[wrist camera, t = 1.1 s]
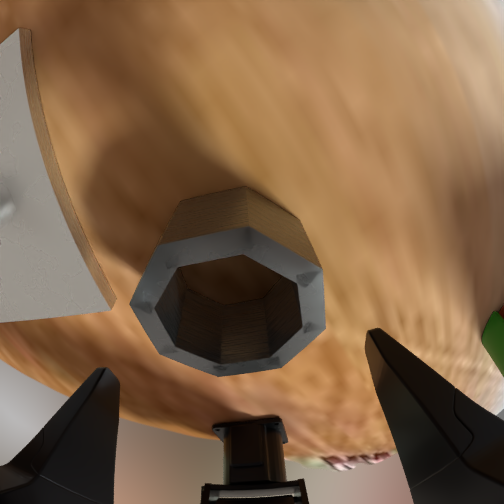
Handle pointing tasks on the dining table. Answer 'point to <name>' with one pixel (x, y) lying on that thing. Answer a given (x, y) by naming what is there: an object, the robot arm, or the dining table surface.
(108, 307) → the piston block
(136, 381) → the dining table surface
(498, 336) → the motor
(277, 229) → the octagonal hollow lampshade
